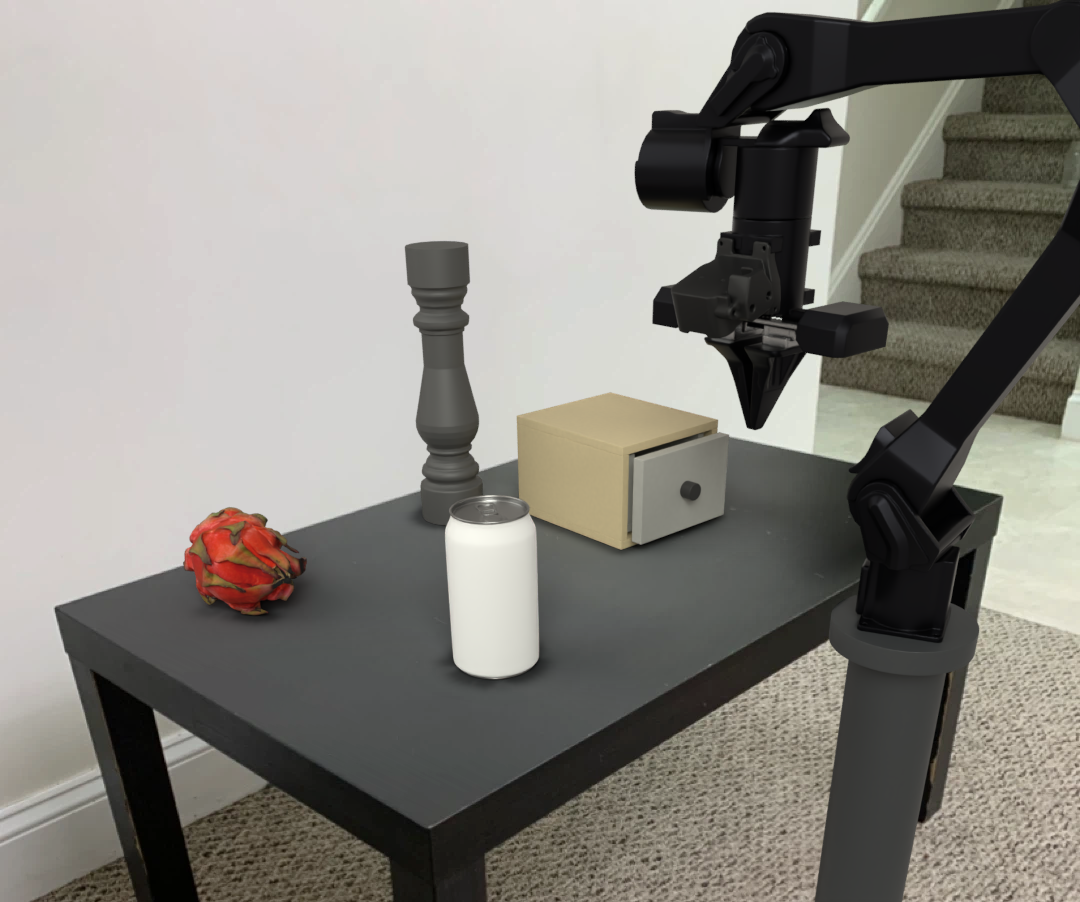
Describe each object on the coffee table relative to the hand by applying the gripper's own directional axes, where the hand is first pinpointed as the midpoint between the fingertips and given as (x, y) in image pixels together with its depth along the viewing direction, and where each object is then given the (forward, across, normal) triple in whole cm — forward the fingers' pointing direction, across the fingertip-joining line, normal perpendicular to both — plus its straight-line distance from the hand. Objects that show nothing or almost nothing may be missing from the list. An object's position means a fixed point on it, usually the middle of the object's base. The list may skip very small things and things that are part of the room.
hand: (754, 428), depth 88 cm
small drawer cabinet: (+13, -19, +3) cm, 23 cm away
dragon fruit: (+13, -25, -34) cm, 44 cm away
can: (+13, -2, -25) cm, 29 cm away
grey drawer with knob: (+12, -16, +3) cm, 20 cm away
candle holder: (+13, -30, -9) cm, 34 cm away
